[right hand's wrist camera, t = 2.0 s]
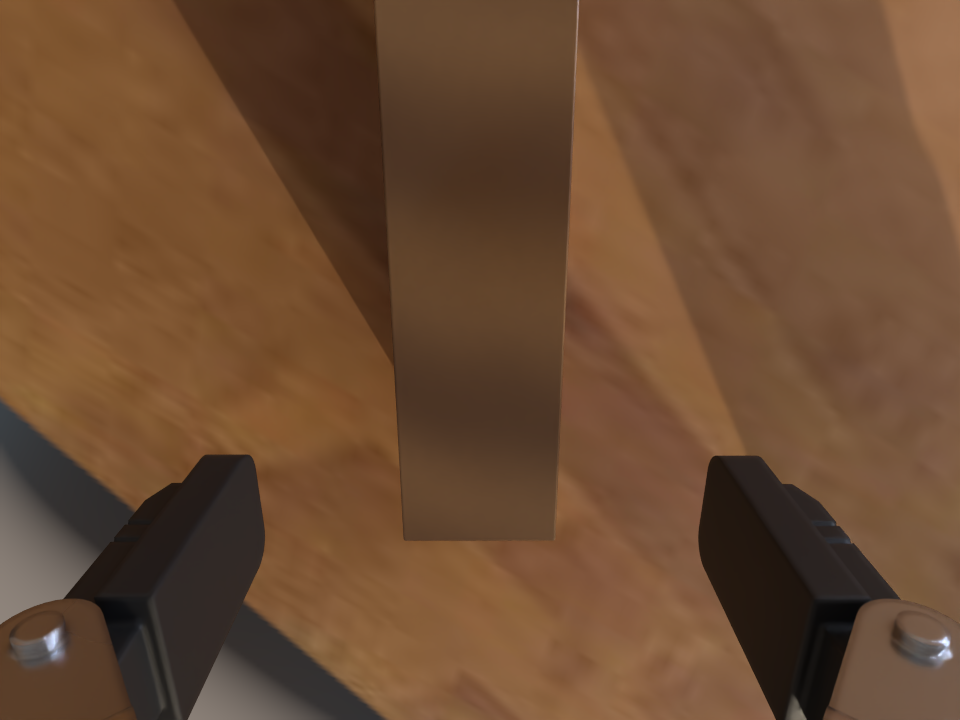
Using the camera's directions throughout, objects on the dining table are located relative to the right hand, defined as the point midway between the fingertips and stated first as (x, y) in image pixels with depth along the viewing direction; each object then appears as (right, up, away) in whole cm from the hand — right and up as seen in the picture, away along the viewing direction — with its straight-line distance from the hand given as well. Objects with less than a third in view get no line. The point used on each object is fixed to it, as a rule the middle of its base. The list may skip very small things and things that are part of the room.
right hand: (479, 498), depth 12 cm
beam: (0, +34, +2) cm, 34 cm away
